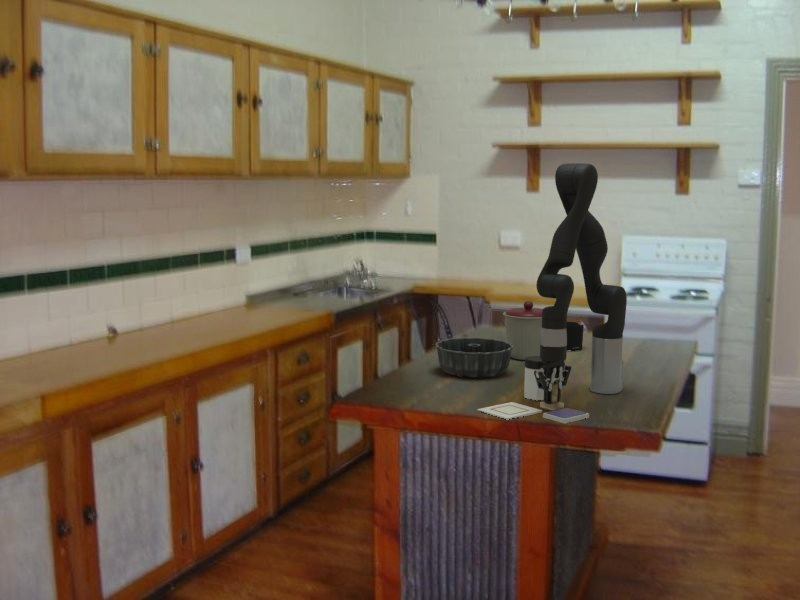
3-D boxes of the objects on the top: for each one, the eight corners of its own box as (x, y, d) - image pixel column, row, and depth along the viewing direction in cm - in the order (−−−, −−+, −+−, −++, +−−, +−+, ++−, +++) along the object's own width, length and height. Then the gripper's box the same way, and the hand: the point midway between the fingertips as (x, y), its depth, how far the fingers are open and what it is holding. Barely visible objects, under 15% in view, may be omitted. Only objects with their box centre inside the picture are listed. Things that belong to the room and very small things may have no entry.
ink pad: (567, 411, 265) (567, 407, 264) (589, 417, 258) (589, 412, 258) (542, 417, 258) (543, 412, 258) (564, 423, 252) (564, 418, 252)
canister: (555, 363, 332) (557, 304, 329) (504, 362, 332) (505, 304, 329) (548, 353, 350) (549, 298, 347) (500, 353, 350) (501, 297, 347)
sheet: (512, 404, 273) (512, 401, 273) (542, 412, 264) (542, 410, 264) (477, 411, 265) (477, 409, 265) (507, 420, 255) (507, 418, 255)
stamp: (551, 405, 271) (552, 381, 270) (563, 409, 267) (564, 384, 266) (539, 408, 268) (540, 383, 267) (552, 411, 265) (553, 386, 264)
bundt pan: (509, 383, 300) (510, 353, 298) (428, 379, 305) (429, 349, 304) (516, 367, 325) (516, 339, 324) (441, 363, 331) (441, 336, 329)
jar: (557, 397, 281) (559, 358, 280) (542, 402, 275) (543, 362, 274) (533, 392, 287) (534, 354, 286) (517, 397, 282) (518, 358, 280)
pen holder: (556, 350, 355) (557, 324, 354) (559, 346, 364) (560, 321, 363) (581, 352, 353) (582, 326, 351) (584, 347, 361) (584, 322, 360)
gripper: (560, 338, 272) (558, 396, 275) (526, 344, 264) (525, 403, 266) (580, 342, 267) (578, 401, 269) (546, 348, 258) (544, 408, 260)
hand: (551, 402), depth 268 cm, fingers closed on stamp, 3 cm apart
